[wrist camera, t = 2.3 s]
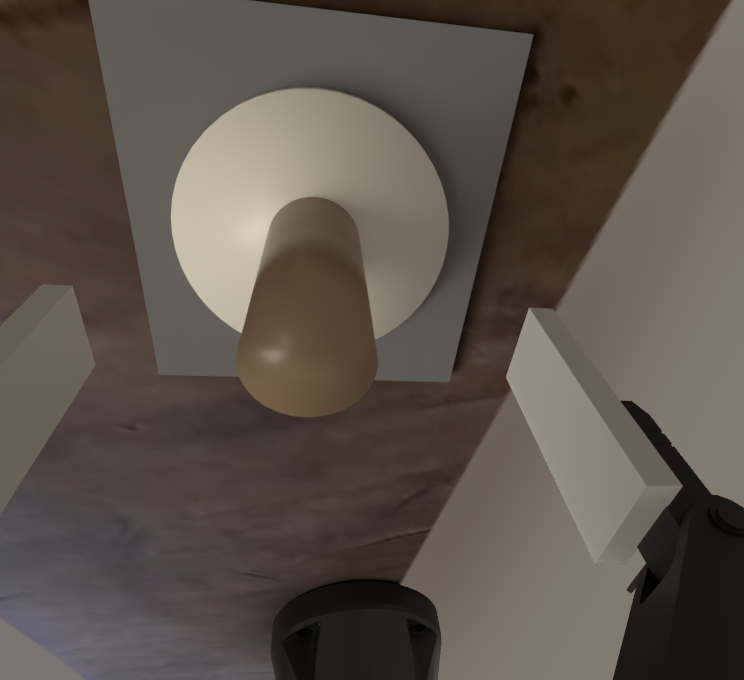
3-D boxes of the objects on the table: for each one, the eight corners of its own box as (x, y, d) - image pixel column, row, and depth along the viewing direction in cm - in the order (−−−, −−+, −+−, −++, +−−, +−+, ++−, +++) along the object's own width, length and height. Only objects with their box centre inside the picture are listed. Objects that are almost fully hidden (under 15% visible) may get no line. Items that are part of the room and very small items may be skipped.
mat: (446, 373, 28) (449, 382, 28) (163, 365, 26) (158, 374, 26) (526, 33, 19) (533, 34, 18) (94, -19, 17) (84, -20, 16)
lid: (422, 345, 26) (468, 499, 18) (192, 338, 25) (126, 501, 16) (468, 101, 19) (574, 165, 11) (157, 71, 18) (14, 119, 10)
